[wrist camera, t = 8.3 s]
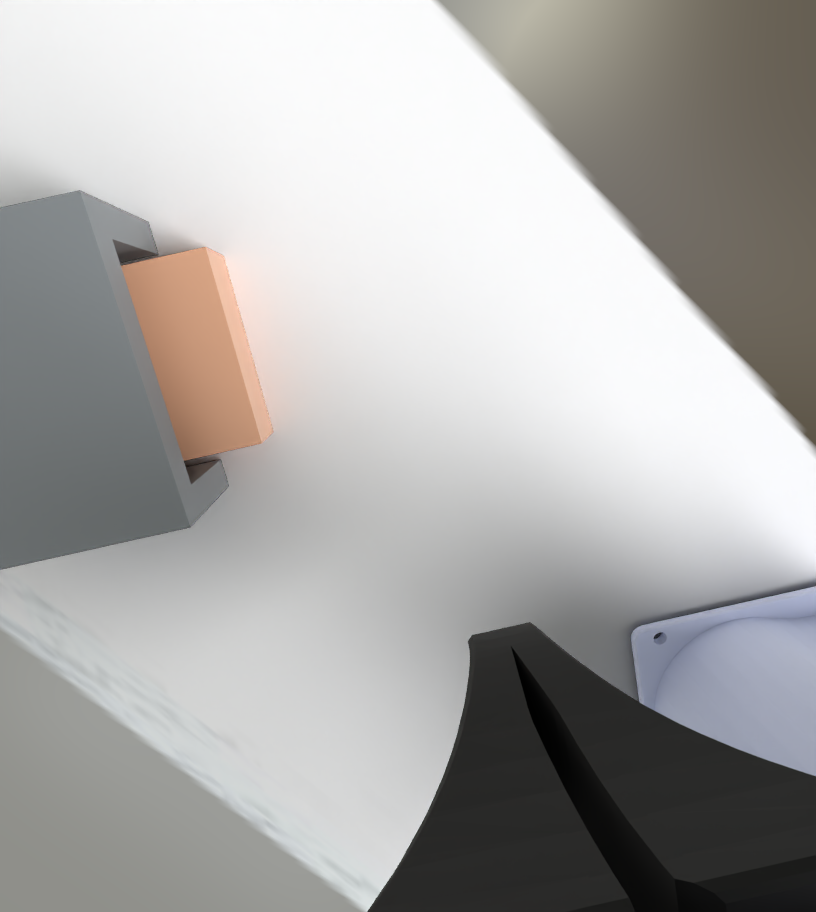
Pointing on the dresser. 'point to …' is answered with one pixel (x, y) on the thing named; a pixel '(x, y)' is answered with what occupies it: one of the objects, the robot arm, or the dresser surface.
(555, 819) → the robot arm
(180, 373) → the slab
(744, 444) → the dresser surface
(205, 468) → the block
